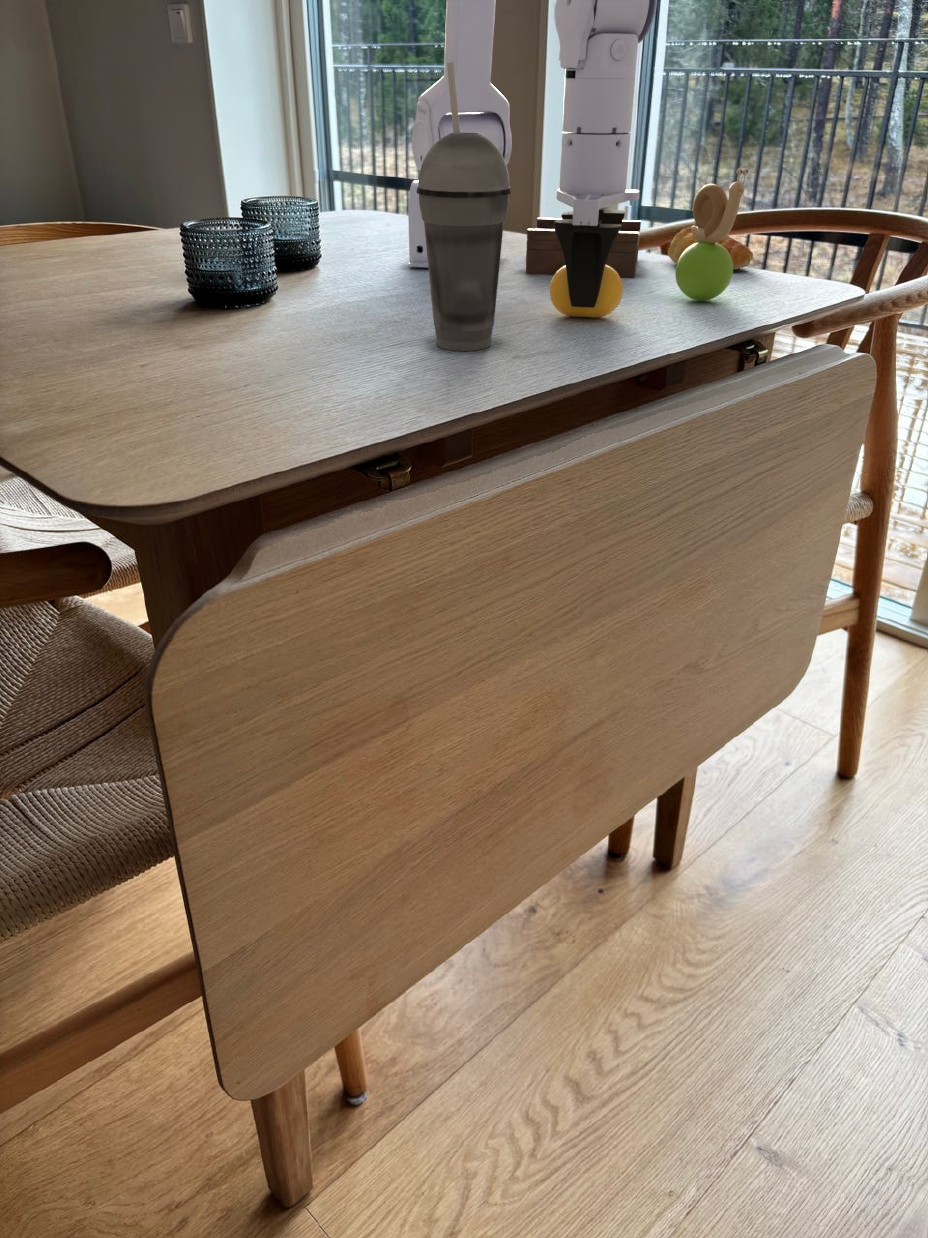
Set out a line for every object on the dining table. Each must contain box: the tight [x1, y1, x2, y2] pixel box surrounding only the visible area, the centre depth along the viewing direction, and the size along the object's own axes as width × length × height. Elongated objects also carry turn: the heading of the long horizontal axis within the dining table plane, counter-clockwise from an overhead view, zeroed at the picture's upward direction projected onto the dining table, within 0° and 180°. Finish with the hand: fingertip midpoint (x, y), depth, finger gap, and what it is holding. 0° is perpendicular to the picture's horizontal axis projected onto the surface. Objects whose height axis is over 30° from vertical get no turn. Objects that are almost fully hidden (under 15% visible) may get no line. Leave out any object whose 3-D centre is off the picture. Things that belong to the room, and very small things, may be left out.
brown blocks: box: [525, 217, 642, 278], centre depth 107 cm, size 12×10×4 cm
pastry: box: [667, 226, 754, 270], centre depth 108 cm, size 9×7×4 cm
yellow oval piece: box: [549, 265, 624, 318], centre depth 85 cm, size 7×5×5 cm
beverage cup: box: [416, 62, 512, 352], centre depth 73 cm, size 7×7×20 cm
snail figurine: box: [674, 167, 749, 302], centre depth 89 cm, size 5×6×12 cm
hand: (585, 300), depth 86 cm, fingers closed on yellow oval piece, 4 cm apart
